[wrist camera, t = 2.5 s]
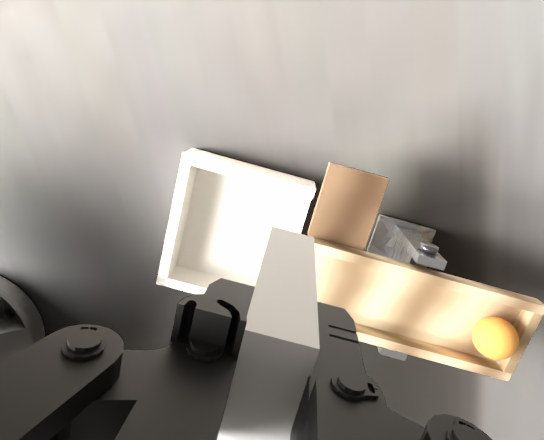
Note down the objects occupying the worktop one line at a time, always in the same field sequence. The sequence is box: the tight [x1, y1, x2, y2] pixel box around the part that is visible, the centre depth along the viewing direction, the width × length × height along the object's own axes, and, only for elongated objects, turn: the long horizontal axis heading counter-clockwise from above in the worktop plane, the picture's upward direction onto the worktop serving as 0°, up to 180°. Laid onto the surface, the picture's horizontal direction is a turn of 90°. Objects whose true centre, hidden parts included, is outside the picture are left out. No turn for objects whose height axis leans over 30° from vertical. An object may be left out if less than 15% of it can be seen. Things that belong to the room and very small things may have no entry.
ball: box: [472, 317, 519, 360], centre depth 34 cm, size 4×4×4 cm
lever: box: [307, 162, 544, 381], centre depth 34 cm, size 20×14×2 cm
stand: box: [366, 214, 447, 361], centre depth 39 cm, size 6×11×9 cm, turn 165°
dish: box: [156, 148, 316, 294], centre depth 41 cm, size 13×14×4 cm
